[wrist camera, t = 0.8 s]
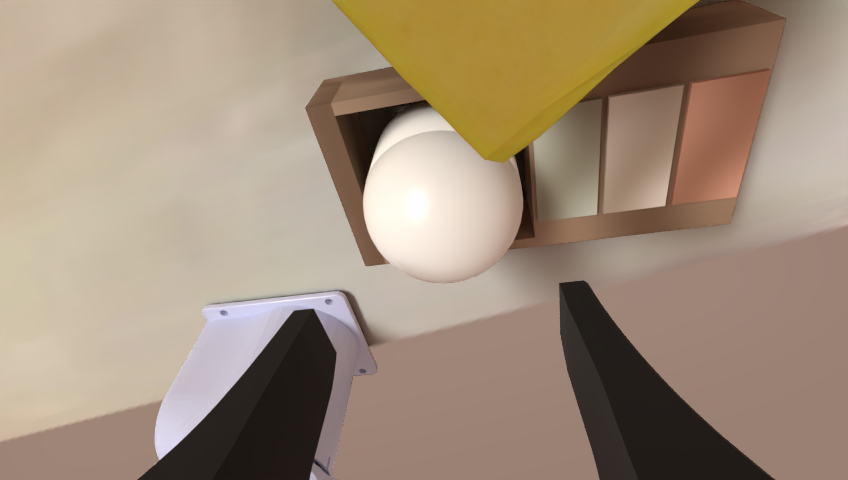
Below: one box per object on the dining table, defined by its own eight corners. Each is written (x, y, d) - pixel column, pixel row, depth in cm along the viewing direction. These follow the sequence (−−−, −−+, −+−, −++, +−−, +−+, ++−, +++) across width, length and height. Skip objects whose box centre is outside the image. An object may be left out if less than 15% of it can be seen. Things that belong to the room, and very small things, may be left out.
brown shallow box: (374, 228, 24) (364, 269, 21) (324, 80, 19) (303, 110, 16) (699, 185, 21) (732, 226, 18) (738, -1, 16) (790, 20, 14)
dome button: (393, 228, 21) (376, 323, 17) (358, 111, 18) (323, 191, 13) (519, 211, 20) (537, 308, 16) (508, 84, 17) (528, 161, 12)
